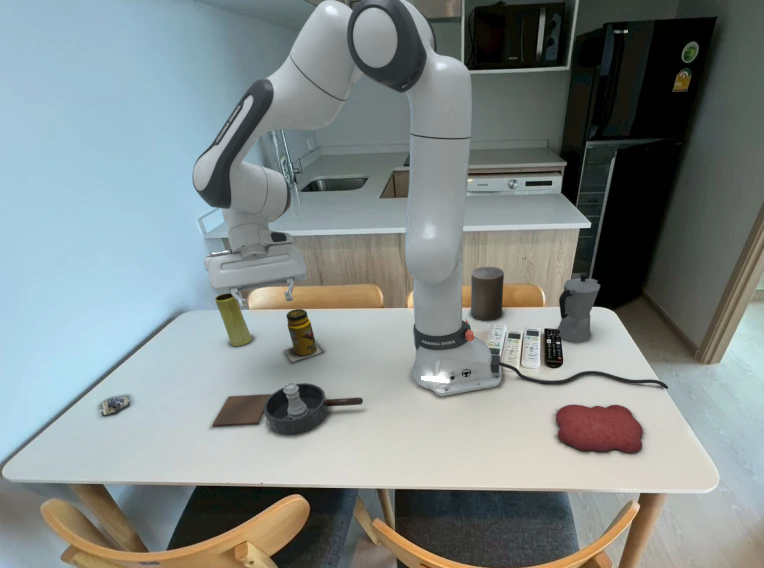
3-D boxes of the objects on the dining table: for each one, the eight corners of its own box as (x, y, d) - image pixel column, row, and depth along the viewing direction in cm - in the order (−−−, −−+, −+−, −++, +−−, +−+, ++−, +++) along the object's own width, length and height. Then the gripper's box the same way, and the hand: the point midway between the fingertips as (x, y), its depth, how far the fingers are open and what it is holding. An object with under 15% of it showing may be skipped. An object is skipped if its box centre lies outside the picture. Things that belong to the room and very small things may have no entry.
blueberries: (107, 419, 95) (103, 413, 94) (90, 408, 98) (86, 402, 97) (137, 403, 100) (133, 397, 98) (120, 393, 103) (116, 387, 102)
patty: (630, 408, 91) (632, 401, 90) (652, 454, 80) (655, 447, 79) (550, 406, 93) (551, 399, 92) (561, 452, 82) (562, 444, 81)
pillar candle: (505, 319, 127) (508, 272, 118) (474, 322, 126) (475, 275, 117) (497, 305, 134) (499, 260, 126) (467, 308, 134) (468, 263, 125)
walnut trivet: (270, 396, 100) (270, 394, 100) (258, 424, 92) (257, 422, 91) (229, 398, 100) (228, 396, 99) (213, 426, 92) (212, 424, 91)
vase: (225, 345, 120) (208, 300, 112) (238, 334, 125) (222, 291, 117) (244, 347, 119) (227, 302, 110) (256, 336, 124) (241, 292, 115)
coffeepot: (573, 320, 124) (583, 263, 114) (601, 332, 118) (614, 272, 108) (540, 338, 117) (547, 278, 106) (567, 352, 111) (578, 289, 100)
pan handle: (363, 401, 93) (362, 395, 92) (363, 405, 92) (362, 400, 91) (324, 403, 93) (323, 398, 92) (323, 408, 92) (322, 402, 91)
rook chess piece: (298, 405, 96) (290, 377, 92) (312, 411, 94) (305, 383, 90) (284, 416, 93) (274, 388, 88) (298, 422, 91) (289, 394, 87)
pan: (332, 394, 99) (329, 381, 97) (322, 433, 89) (318, 419, 86) (277, 398, 99) (273, 384, 97) (261, 436, 88) (255, 423, 86)
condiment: (322, 352, 115) (312, 314, 108) (292, 362, 111) (280, 323, 104) (313, 341, 120) (303, 304, 113) (284, 351, 116) (272, 313, 109)
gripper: (197, 247, 86) (212, 308, 84) (297, 232, 92) (313, 290, 90) (206, 260, 92) (220, 318, 90) (299, 246, 98) (314, 300, 96)
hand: (267, 304), depth 90 cm, fingers open, 8 cm apart
